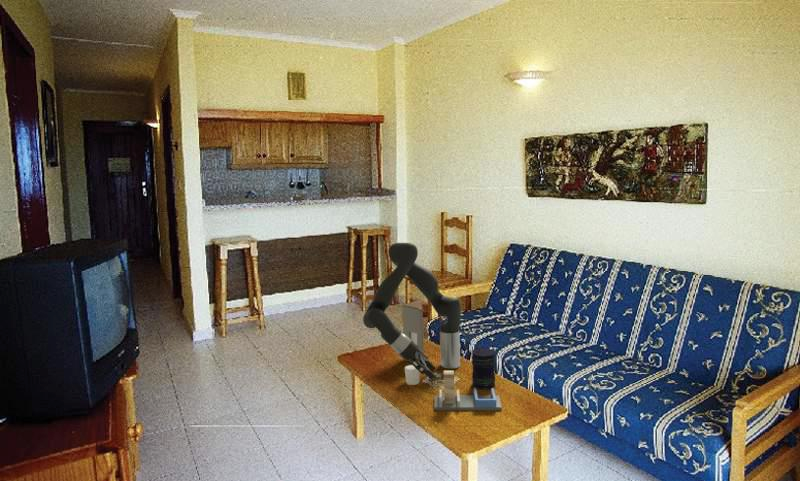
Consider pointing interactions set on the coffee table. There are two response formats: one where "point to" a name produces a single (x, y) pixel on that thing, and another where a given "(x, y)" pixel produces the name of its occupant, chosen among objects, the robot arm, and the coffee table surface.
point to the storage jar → (483, 368)
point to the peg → (449, 387)
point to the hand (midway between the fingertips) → (433, 373)
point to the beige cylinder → (411, 375)
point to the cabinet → (413, 323)
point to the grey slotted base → (469, 402)
